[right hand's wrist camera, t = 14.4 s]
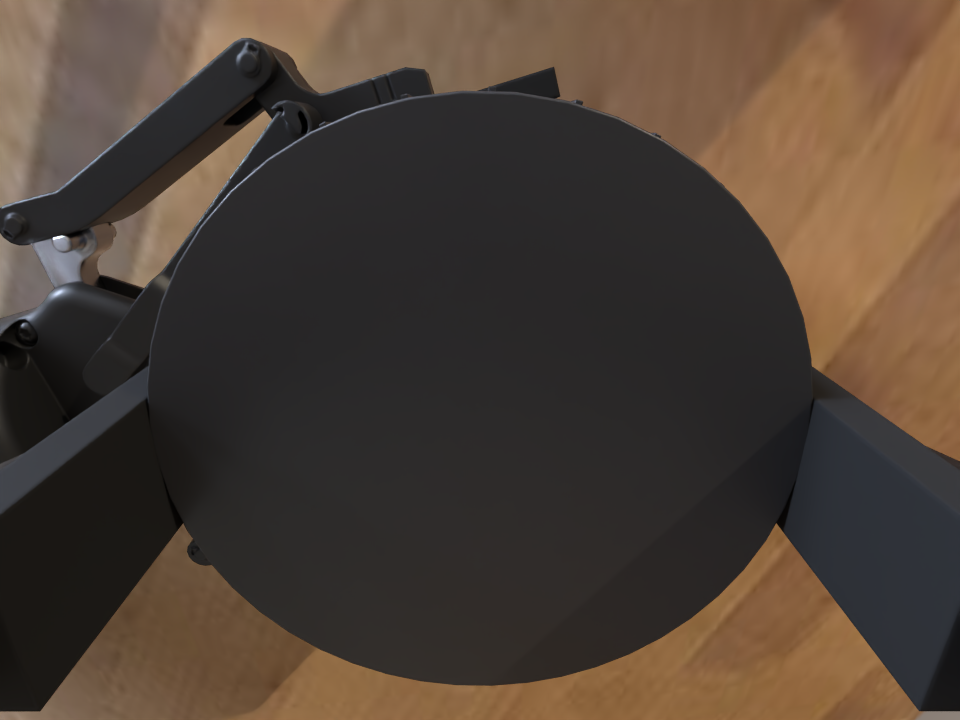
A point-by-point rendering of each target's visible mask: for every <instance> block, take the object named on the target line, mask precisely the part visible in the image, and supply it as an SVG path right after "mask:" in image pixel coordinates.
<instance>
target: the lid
mask: <svg viewBox="0 0 960 720" xmlns="http://www.w3.org/2000/svg"><path fill="white" fill-rule="evenodd" d="M582 104H583V101H580V100H574V101H571V102H570V101H565V100H559V99H554V98H548V97H542V96H536V95H530V94H524V93H518V92H496V87H492V86H489V88H488V91H456V92H448V93H440V94H432V95H423V96H415V97H412V96H410V95H409V94H404V95H401V100H397V101H393V102H390V103H386V104H382V105H379V106H375V107H371V108H368V109H364V110H360V111H357V112H355V113H353V114H350V115H348V116H346V117H343V118H341V119H339V120H336V121H334V122H324V123H322V124H320V125H319V126H320V128H318V129H316V130H314V131H311V132H310V133H308V134H306V135H305V136H303V137H302V138H300V139H298V140H297V141H295V142H294V143H292V144H290V145H289V146H287V147H286V148H284V149H282V150H281V151H279V152H278V153H276V154H274V155H273V156H271V157H270V158H268V159H267V160H266V161H265V162H263V163H262V164H261V165H260V166H259V167H257V168H255V169H253V170H252V171H251V172H252V173H251V174H249V175H248V176H247V177H246V178H245V179H244V180H243V181H241V182H240V183H239V184H238V185H237V186H236V187H234V188H233V189H232V190H231V191H230V192H229V193H228V195H227V196H226V197H225V198H224V199H223V200H222V202H221V203H220V204H219V205H218V206H217V207H216V209H215V210H214V211H213V212H212V213H211V215H210V216H209V217H208V218H207V219H206V220H205V222H204V223H203V224H202V225H201V226H200V228H199V230H198V231H197V233H196V235H195V236H194V238H193V239H192V241H191V243H190V244H189V246H188V248H187V249H186V251H185V252H184V254H183V256H182V257H181V259H180V261H179V262H178V264H177V266H176V268H175V271H174V273H173V276H172V278H171V280H170V283H169V285H168V288H167V290H166V292H165V295H164V297H163V299H162V302H161V305H160V309H159V313H158V317H157V321H156V325H155V329H154V333H153V337H152V341H151V345H150V356H149V368H148V379H147V395H148V411H149V423H150V428H151V432H152V437H153V441H154V445H155V450H156V454H157V458H158V463H159V466H160V470H161V474H162V477H163V479H164V482H165V485H166V488H167V490H168V493H169V496H170V498H171V500H172V502H173V504H174V506H175V508H176V510H177V512H178V514H179V516H180V518H181V519H182V521H183V523H184V525H185V527H186V529H187V531H188V532H189V534H190V535H191V537H192V538H193V539H194V541H195V542H196V544H197V545H198V547H199V548H200V549H201V551H202V552H203V554H204V555H205V557H206V558H207V559H208V561H209V562H210V563H211V564H212V565H213V566H214V568H215V569H216V570H217V571H218V572H219V573H220V574H221V575H222V576H223V578H224V579H225V580H226V581H227V582H228V583H229V584H230V585H231V586H232V588H233V589H235V590H236V591H237V592H238V593H239V594H240V595H241V596H243V597H244V598H245V599H246V600H247V601H248V602H249V603H250V604H252V605H253V606H254V607H255V608H256V609H257V610H258V611H260V612H261V613H262V614H264V615H265V616H267V617H268V618H270V619H271V620H272V621H274V622H275V623H277V624H278V625H279V626H281V627H282V628H284V629H285V630H287V631H288V632H290V633H291V634H293V635H295V636H297V637H299V638H300V639H302V640H304V641H306V642H308V643H309V644H311V645H313V646H315V647H317V648H319V649H320V650H323V651H325V652H327V653H330V654H332V655H334V656H337V657H339V658H341V659H344V660H346V661H349V662H351V663H353V664H356V665H360V666H363V667H366V668H369V669H372V670H376V671H379V672H382V673H385V674H389V675H394V676H399V677H404V678H409V679H413V680H418V681H424V682H433V683H442V684H451V685H486V686H493V685H505V684H518V683H529V682H534V681H540V680H545V679H551V678H557V677H562V676H566V675H569V674H573V673H577V672H580V671H584V670H587V669H591V668H594V667H597V666H600V665H603V664H605V663H608V662H610V661H613V660H615V659H618V658H621V657H623V656H626V655H628V654H630V653H632V652H634V651H636V650H638V649H640V648H642V647H644V646H646V645H648V644H650V643H652V642H654V641H656V640H658V639H660V638H662V637H663V636H665V635H666V634H668V633H669V632H671V631H672V630H674V629H675V628H677V627H678V626H680V625H682V624H683V623H685V622H686V621H688V620H689V619H691V618H692V617H693V616H694V615H696V614H697V613H698V612H699V611H701V610H702V609H703V608H704V607H705V606H707V605H708V604H709V603H710V602H712V601H713V600H714V599H715V598H716V597H718V596H719V595H720V594H721V593H722V592H723V591H724V590H725V589H726V588H727V587H728V585H729V584H730V583H731V582H732V581H733V580H734V579H735V578H736V577H737V576H738V575H739V574H740V573H741V572H742V571H743V570H744V569H745V567H746V566H747V565H748V564H749V562H750V561H751V560H752V558H753V557H754V556H755V554H756V553H757V552H758V550H759V549H760V548H761V546H762V545H763V544H764V542H765V541H766V540H767V538H768V536H769V534H770V533H771V531H772V529H773V528H774V526H775V524H776V522H777V521H778V519H779V517H780V515H781V514H782V512H783V510H784V509H785V506H786V504H787V501H788V499H789V496H790V494H791V492H792V489H793V487H794V484H795V482H796V479H797V475H798V471H799V467H800V463H801V459H802V454H803V450H804V446H805V442H806V437H807V433H808V428H809V423H810V418H811V410H812V401H813V392H812V365H811V355H810V349H809V344H808V339H807V334H806V329H805V323H804V318H803V315H802V312H801V309H800V307H799V304H798V301H797V298H796V295H795V293H794V290H793V287H792V284H791V282H790V279H789V276H788V274H787V273H786V271H785V269H784V267H783V265H782V263H781V262H780V260H779V258H778V256H777V254H776V252H775V251H774V249H773V247H772V245H771V243H770V242H769V240H768V238H767V237H766V235H765V234H764V233H763V231H762V230H761V229H760V227H759V226H758V225H757V224H756V222H755V221H754V220H753V218H752V217H751V216H750V214H749V213H748V212H747V211H746V209H745V208H744V207H743V205H742V204H741V203H740V201H738V200H737V199H736V198H735V197H734V196H733V195H732V194H731V193H730V192H729V191H728V190H727V189H726V188H725V187H724V186H723V184H722V183H720V182H719V181H718V180H716V179H715V178H714V177H713V176H712V175H711V174H710V173H709V172H708V171H707V170H706V169H705V168H704V167H702V166H701V165H699V164H698V163H696V162H695V161H694V160H692V159H691V158H689V157H688V156H686V155H685V154H684V153H682V152H681V151H679V150H678V149H676V148H675V147H673V146H672V145H671V144H669V143H668V142H666V141H665V140H663V139H661V136H660V135H658V134H657V133H649V132H647V131H645V130H643V129H641V128H639V127H637V126H635V125H633V124H631V123H629V122H627V121H625V120H623V119H621V118H619V117H616V116H613V115H610V114H607V113H604V112H601V111H598V110H595V109H591V108H588V107H585V106H582Z"/></svg>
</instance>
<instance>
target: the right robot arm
mask: <svg viewBox="0 0 960 720" xmlns="http://www.w3.org/2000/svg"><path fill="white" fill-rule="evenodd" d="M148 368H149V366H147V367H146V368H145V369H143V370H142V371H140V372H139V373H137V374H136V375H135V376H133V377H132V378H130V379H129V380H127V381H126V382H125V383H123V384H122V385H120V386H119V387H117V388H116V389H115V390H113V391H112V392H110V393H109V394H108V395H106V396H105V397H103V398H102V399H100V400H99V401H98V402H96V403H95V404H93V405H92V406H90V407H89V408H88V409H86V410H85V411H83V412H82V413H81V414H79V415H78V416H76V417H75V418H73V419H72V420H71V421H69V422H68V423H66V424H65V425H63V426H62V427H61V428H59V429H58V430H56V431H55V432H53V433H52V434H51V435H49V436H48V437H46V438H45V439H44V440H42V441H41V442H39V443H38V444H36V445H35V446H34V447H32V448H31V449H29V450H28V451H26V452H25V453H23V454H21V455H19V456H16V457H14V458H12V459H10V460H8V461H5V462H3V463H1V464H0V711H41V709H42V708H43V707H44V705H45V704H46V703H47V701H48V700H49V699H50V698H51V696H52V695H53V694H54V692H55V691H56V690H57V688H58V687H59V686H60V684H61V683H62V682H63V680H64V679H65V678H66V676H67V675H68V674H69V673H70V671H71V670H72V669H73V667H74V666H75V665H76V663H77V662H78V661H79V659H80V658H81V657H82V655H83V654H84V653H85V651H86V650H87V649H88V648H89V646H90V645H91V644H92V642H93V641H94V640H95V638H96V637H97V636H98V634H99V633H100V632H101V630H102V629H103V628H104V626H105V625H106V624H107V622H108V621H109V620H110V619H111V617H112V616H113V615H114V613H115V612H116V611H117V609H118V608H119V607H120V605H121V604H122V603H123V601H124V600H125V599H126V597H127V596H128V595H129V594H130V592H131V591H132V590H133V588H134V587H135V586H136V584H137V583H138V582H139V580H140V579H141V578H142V576H143V575H144V574H145V572H146V571H147V570H148V569H149V567H150V566H151V565H152V563H153V562H154V561H155V559H156V558H157V557H158V555H159V554H160V553H161V551H162V550H163V549H164V547H165V546H166V545H167V544H168V542H169V541H170V540H171V538H172V537H173V536H174V534H175V533H176V532H177V530H178V529H179V528H180V526H181V525H182V524H183V521H182V519H181V518H180V516H179V514H178V512H177V510H176V508H175V506H174V504H173V502H172V500H171V498H170V496H169V493H168V490H167V488H166V485H165V482H164V479H163V477H162V474H161V470H160V466H159V463H158V458H157V454H156V450H155V445H154V441H153V437H152V432H151V428H150V423H149V411H148V395H147V379H148ZM812 392H813V401H812V410H811V418H810V423H809V428H808V433H807V437H806V442H805V446H804V450H803V454H802V459H801V463H800V467H799V471H798V475H797V479H796V482H795V484H794V487H793V489H792V492H791V494H790V496H789V499H788V501H787V504H786V506H785V509H784V510H783V512H782V514H781V515H780V517H779V519H778V521H777V522H776V523H777V524H778V526H779V527H780V528H781V530H782V531H783V532H784V534H785V535H786V536H787V538H788V539H789V540H790V542H791V543H792V544H793V546H794V547H795V548H796V550H797V551H798V552H799V553H800V555H801V556H802V557H803V559H804V560H805V561H806V563H807V564H808V565H809V567H810V568H811V569H812V571H813V572H814V573H815V575H816V576H817V577H818V578H819V580H820V581H821V582H822V584H823V585H824V586H825V588H826V589H827V590H828V592H829V593H830V594H831V596H832V597H833V598H834V600H835V601H836V602H837V604H838V605H839V606H840V607H841V609H842V610H843V611H844V613H845V614H846V615H847V617H848V618H849V619H850V621H851V622H852V623H853V625H854V626H855V627H856V629H857V630H858V631H859V632H860V634H861V635H862V636H863V638H864V639H865V640H866V642H867V643H868V644H869V646H870V647H871V648H872V650H873V651H874V652H875V654H876V655H877V656H878V657H879V659H880V660H881V661H882V663H883V664H884V665H885V667H886V668H887V669H888V671H889V672H890V673H891V675H892V676H893V677H894V679H895V680H896V681H897V683H898V684H899V685H900V686H901V688H902V689H903V690H904V692H905V693H906V694H907V696H908V697H909V698H910V700H911V701H912V702H913V704H914V705H915V706H916V708H917V709H918V710H919V711H960V461H958V460H955V459H953V458H951V457H949V456H946V455H944V454H942V453H940V452H938V451H935V450H933V449H931V448H929V447H926V446H924V445H923V444H922V443H920V442H919V441H917V440H916V439H914V438H913V437H912V436H910V435H909V434H907V433H906V432H904V431H903V430H902V429H900V428H899V427H897V426H896V425H895V424H893V423H892V422H890V421H889V420H887V419H886V418H885V417H883V416H882V415H880V414H879V413H877V412H876V411H875V410H873V409H872V408H870V407H869V406H867V405H866V404H865V403H863V402H862V401H860V400H859V399H858V398H856V397H855V396H853V395H852V394H850V393H849V392H848V391H846V390H845V389H843V388H842V387H840V386H839V385H838V384H836V383H835V382H833V381H832V380H831V379H829V378H828V377H826V376H825V375H823V374H822V373H821V372H819V371H818V370H816V369H815V368H813V367H812Z"/></svg>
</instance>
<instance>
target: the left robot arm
mask: <svg viewBox="0 0 960 720" xmlns="http://www.w3.org/2000/svg"><path fill="white" fill-rule="evenodd" d="M492 87H496V92H518V93H524V94H530V95H536V96H542V97H548V98H554V99H555V98H558V97H560V93H559V88H558V83H557V79H556V74H555V69H554V67H552V68H549V69H545V70H542V71H539V72H536V73H533V74H530V75H526V76H523V77H520V78H517V79H514V80H511V81H507V82H504V83H501V84H498V85H495V86H492ZM488 88H489V87H488ZM488 88H485V89H482V90H479V91H488ZM404 94H409V95H410V96H412V97H415V96H423V95H432V94H434V91H433V87H432V84H431V80H430V77H429V74H428V73H427V72H426V70H424V69H415V68H407V67H405V68H402V69H399V70H396V71H393V72H390V73H387V74H383V75H380V76H377V77H374V78H372V79H368V80H365V81H362V82H359V83H356V84H352V85H349V86H346V87H343V88H340V89H337V90H334V91H331V92H328V93H322V94H319V93H318V92H316V91H315V90H313V89H312V88H311V87H310V85H309V84H308V83H307V82H306V80H305V79H304V78H303V76H302V75H301V74H300V73H299V71H298V70H297V67H296V64H295V62H294V60H293V59H292V58H291V57H290V56H289V55H288V54H287V53H285V52H283V51H281V50H279V49H277V48H274V47H272V46H269V45H267V44H265V43H262V42H259V41H256V40H254V39H251V38H241V39H239V40H237V41H235V42H234V43H232V44H231V45H230V46H229V47H228V48H226V49H225V50H224V51H223V52H222V53H221V54H219V55H218V56H217V57H216V58H215V59H213V60H212V61H211V62H210V63H209V64H208V65H206V66H205V67H204V68H203V69H202V70H200V71H199V72H198V73H197V74H196V75H194V76H193V77H192V78H191V79H190V80H189V81H187V82H186V83H185V84H184V85H183V86H181V87H180V88H179V89H178V90H177V91H175V92H174V93H173V94H172V95H171V96H170V97H168V98H167V99H166V100H165V101H164V102H162V103H161V104H160V105H159V106H158V107H156V108H155V109H154V110H153V111H152V112H151V113H149V114H148V115H147V116H146V117H145V118H143V119H142V120H141V121H140V122H139V123H137V124H136V125H135V126H134V127H133V128H132V129H130V130H129V131H128V132H127V133H126V134H124V135H123V136H122V137H121V138H120V139H119V140H117V141H116V142H115V143H114V144H113V145H111V146H110V147H109V148H108V149H107V150H105V151H104V152H103V153H102V154H101V155H100V156H98V157H97V158H96V159H95V160H94V161H92V162H91V163H90V164H89V165H88V166H86V167H85V168H84V169H83V170H82V171H81V172H79V173H78V174H77V175H76V176H75V177H73V178H72V179H71V180H70V181H69V182H67V183H66V184H65V185H64V186H63V187H62V188H60V189H59V190H58V191H55V192H52V193H48V194H44V195H40V196H37V197H33V198H29V199H26V200H22V201H18V202H15V203H11V204H7V205H5V206H3V207H1V208H0V233H1V235H2V236H3V237H4V238H5V239H7V240H8V241H9V242H11V243H13V244H16V245H29V244H31V245H32V246H33V248H34V250H35V252H36V254H37V256H38V258H39V260H40V262H41V263H42V265H43V267H44V269H45V271H46V273H47V275H48V277H49V279H50V280H51V282H52V284H53V286H54V288H55V289H54V290H52V291H51V292H50V293H49V295H48V296H47V297H46V299H45V300H44V302H43V303H42V304H41V305H40V306H39V307H37V308H33V309H30V310H27V311H24V312H20V313H17V314H14V315H10V316H7V317H4V318H0V464H1V463H3V462H5V461H8V460H10V459H12V458H14V457H16V456H19V455H21V454H23V453H25V452H26V451H28V450H29V449H31V448H32V447H34V446H35V445H36V444H38V443H39V442H41V441H42V440H44V439H45V438H46V437H48V436H49V435H51V434H52V433H53V432H55V431H56V430H58V429H59V428H61V427H62V426H63V425H65V424H66V423H68V422H69V421H71V420H72V419H73V418H75V417H76V416H78V415H79V414H81V413H82V412H83V411H85V410H86V409H88V408H89V407H90V406H92V405H93V404H95V403H96V402H98V401H99V400H100V399H102V398H103V397H105V396H106V395H108V394H109V393H110V392H112V391H113V390H115V389H116V388H117V387H119V386H120V385H122V384H123V383H125V382H126V381H127V380H129V379H130V378H132V377H133V376H135V375H136V374H137V373H139V372H140V371H142V370H143V369H145V368H146V367H147V366H149V356H150V345H151V341H152V337H153V333H154V329H155V325H156V321H157V317H158V313H159V309H160V305H161V302H162V299H163V297H164V295H165V292H166V290H167V288H168V285H169V283H170V280H171V278H172V276H173V273H174V271H175V268H176V266H177V264H178V262H179V261H180V259H181V257H182V256H183V254H184V252H185V251H186V249H187V248H188V246H189V244H190V243H191V241H192V239H193V238H194V236H195V235H196V233H197V231H198V230H199V228H200V226H201V225H202V224H203V223H204V222H205V220H206V219H207V218H208V217H209V216H210V215H211V213H212V212H213V211H214V210H215V209H216V207H217V206H218V205H219V204H220V203H221V202H222V200H223V199H224V198H225V197H226V196H227V195H228V193H229V192H230V191H231V190H232V189H233V188H234V187H236V186H237V185H238V184H239V183H240V182H241V181H243V180H244V179H245V178H246V177H247V176H248V175H249V174H251V173H252V172H251V171H252V170H253V169H255V168H257V167H259V166H260V165H261V164H262V163H263V162H265V161H266V160H267V159H268V158H270V157H271V156H273V155H274V154H276V153H278V152H279V151H281V150H282V149H284V148H286V147H287V146H289V145H290V144H292V143H294V142H295V141H297V140H298V139H300V138H302V137H303V136H305V135H306V134H308V133H310V132H311V131H314V130H316V129H318V128H320V126H319V125H320V124H322V123H324V122H334V121H336V120H339V119H341V118H343V117H346V116H348V115H350V114H353V113H355V112H357V111H360V110H364V109H368V108H371V107H375V106H379V105H382V104H386V103H390V102H393V101H397V100H401V95H404ZM263 111H266V112H267V113H268V114H269V116H270V117H271V118H272V121H271V122H270V124H269V125H268V126H267V128H266V129H265V130H264V132H263V133H262V135H261V136H260V137H259V139H258V140H257V141H256V143H255V144H254V146H253V147H252V148H251V150H250V151H249V153H248V154H247V155H246V157H245V158H244V159H243V161H242V162H241V164H240V165H239V166H238V168H237V169H236V170H235V172H234V173H233V175H232V176H231V177H230V179H229V180H228V181H227V183H226V184H225V186H224V187H223V188H222V190H221V191H220V192H219V194H218V195H217V197H216V198H215V199H214V201H213V202H212V204H211V205H210V206H209V208H208V209H207V210H206V212H205V213H204V215H203V216H202V217H201V219H200V220H199V221H198V223H197V224H196V226H195V227H194V228H193V230H192V231H191V232H190V234H189V235H188V237H187V238H186V239H185V241H184V242H183V244H182V245H181V246H180V248H179V249H178V250H177V252H176V253H175V255H174V256H173V257H172V259H171V260H170V261H169V263H168V264H167V266H166V267H165V268H164V269H163V271H162V272H161V273H160V274H158V275H157V276H156V277H155V278H154V279H152V280H151V281H150V282H149V283H148V284H147V286H146V287H145V288H142V287H139V286H136V285H133V284H130V283H127V282H124V281H121V280H117V279H114V278H111V277H108V276H104V275H99V272H98V269H97V261H98V258H99V257H100V255H101V254H102V253H104V252H105V251H107V250H108V249H110V247H111V246H112V244H113V239H114V238H115V237H116V233H117V232H116V229H115V227H114V226H113V225H112V224H111V223H113V222H116V221H119V220H122V219H124V218H126V217H128V216H130V215H132V214H134V213H136V212H137V211H139V210H140V209H142V208H143V207H144V206H146V205H147V204H148V203H149V202H151V201H152V200H153V199H154V198H156V197H157V196H158V195H159V194H161V193H162V192H163V191H164V190H166V189H167V188H168V187H169V186H171V185H172V184H173V183H174V182H176V181H177V180H178V179H180V178H181V177H182V176H183V175H185V174H186V173H187V172H188V171H190V170H191V169H192V168H193V167H195V166H196V165H197V164H198V163H200V162H201V161H202V160H203V159H205V158H206V157H207V156H208V155H210V154H211V153H212V152H213V151H215V150H216V149H217V148H218V147H220V146H221V145H222V144H223V143H225V142H226V141H227V140H228V139H230V138H231V137H232V136H233V135H235V134H236V133H237V132H238V131H240V130H241V129H242V128H243V127H245V126H246V125H247V124H248V123H250V122H251V121H252V120H253V119H255V118H256V117H257V116H258V115H260V114H261V113H262V112H263ZM187 553H188V555H189V557H190V558H191V559H192V560H193V561H194V562H196V563H197V564H200V565H205V566H206V565H212V564H211V563H210V562H209V561H208V559H207V558H206V557H205V555H204V554H203V552H202V551H201V549H200V548H199V547H198V545H197V544H196V542H195V541H194V539H193V540H192V541H191V543H190V544H189V546H188V549H187Z"/></svg>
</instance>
